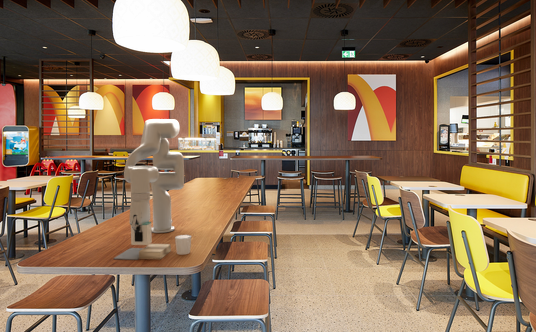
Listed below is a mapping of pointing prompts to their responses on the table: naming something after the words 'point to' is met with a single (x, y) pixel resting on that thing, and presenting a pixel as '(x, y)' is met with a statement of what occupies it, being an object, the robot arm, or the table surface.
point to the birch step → (154, 251)
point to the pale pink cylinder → (183, 244)
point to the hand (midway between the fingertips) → (141, 239)
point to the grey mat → (129, 254)
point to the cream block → (146, 234)
